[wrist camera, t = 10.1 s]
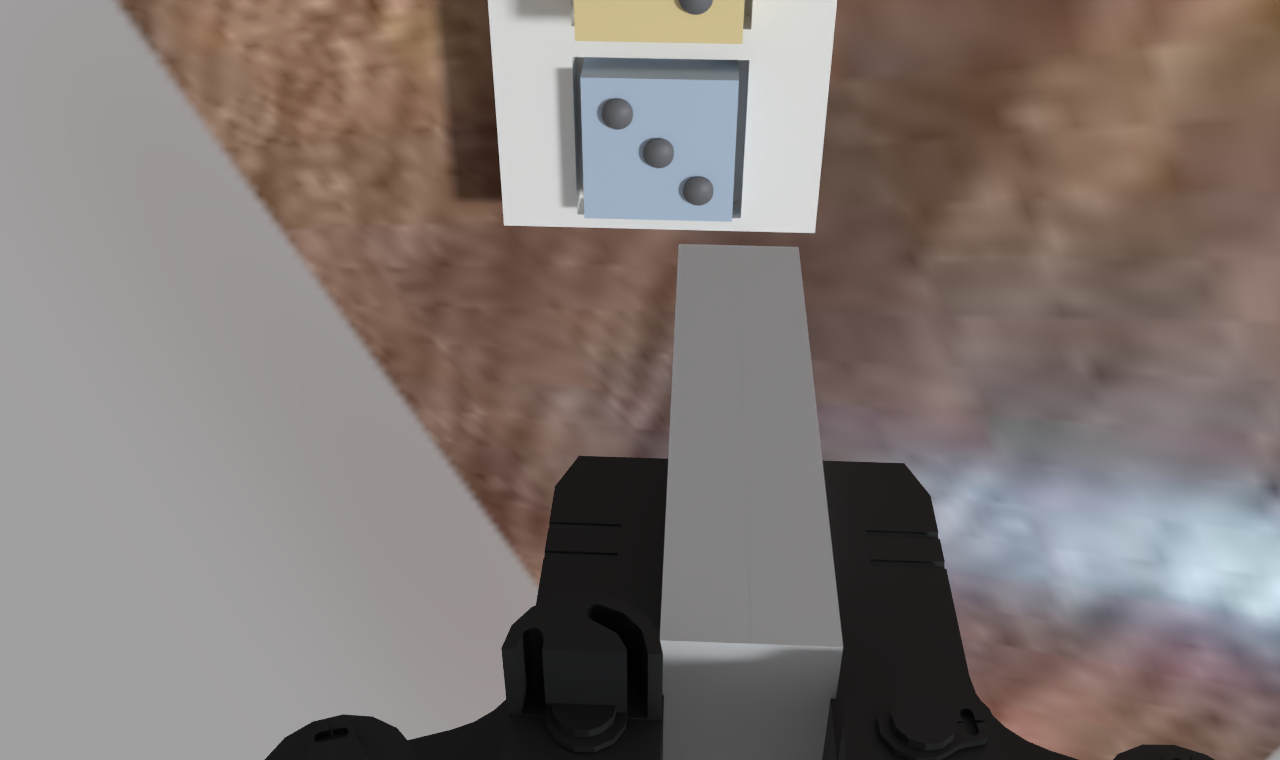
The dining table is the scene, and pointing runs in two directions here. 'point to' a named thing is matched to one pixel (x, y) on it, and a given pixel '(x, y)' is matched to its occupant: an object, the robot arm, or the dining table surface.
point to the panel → (767, 58)
